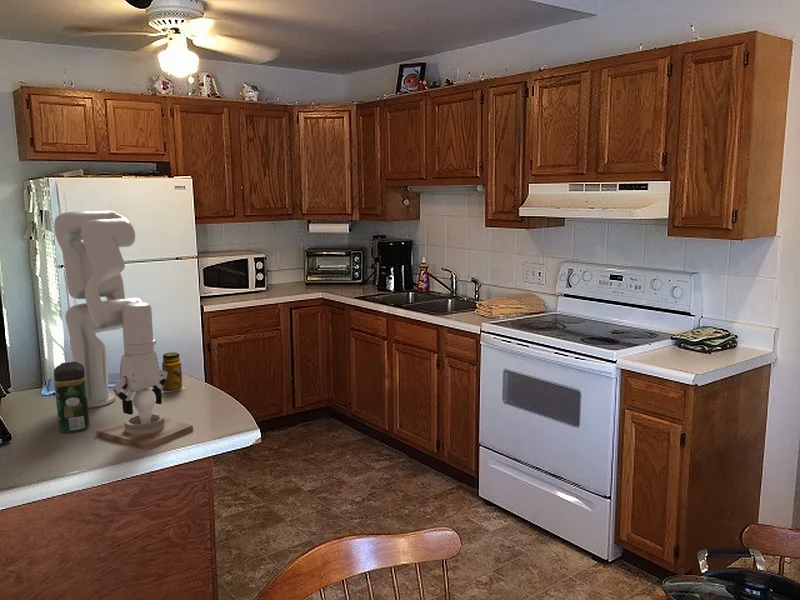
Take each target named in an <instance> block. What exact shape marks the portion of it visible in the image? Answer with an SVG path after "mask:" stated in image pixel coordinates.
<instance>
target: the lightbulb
mask: <svg viewBox="0 0 800 600" xmlns="http://www.w3.org/2000/svg"><path fill="white" fill-rule="evenodd" d="M131 400H132V405H133V407H134V408H135V409H136V410H137V413H138V414H139V417H140V419H141V424H147V423H151V417H152V413H153V410H154V407H155V404H156V403H155V402H156V395H155V393H154V392H153V391H152V389H150V388H146V389H143V390H140V391H137V392H134V393H133V395H132V398H131Z"/></svg>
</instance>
